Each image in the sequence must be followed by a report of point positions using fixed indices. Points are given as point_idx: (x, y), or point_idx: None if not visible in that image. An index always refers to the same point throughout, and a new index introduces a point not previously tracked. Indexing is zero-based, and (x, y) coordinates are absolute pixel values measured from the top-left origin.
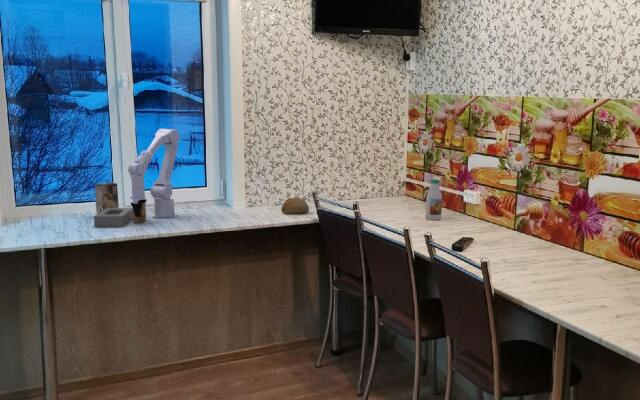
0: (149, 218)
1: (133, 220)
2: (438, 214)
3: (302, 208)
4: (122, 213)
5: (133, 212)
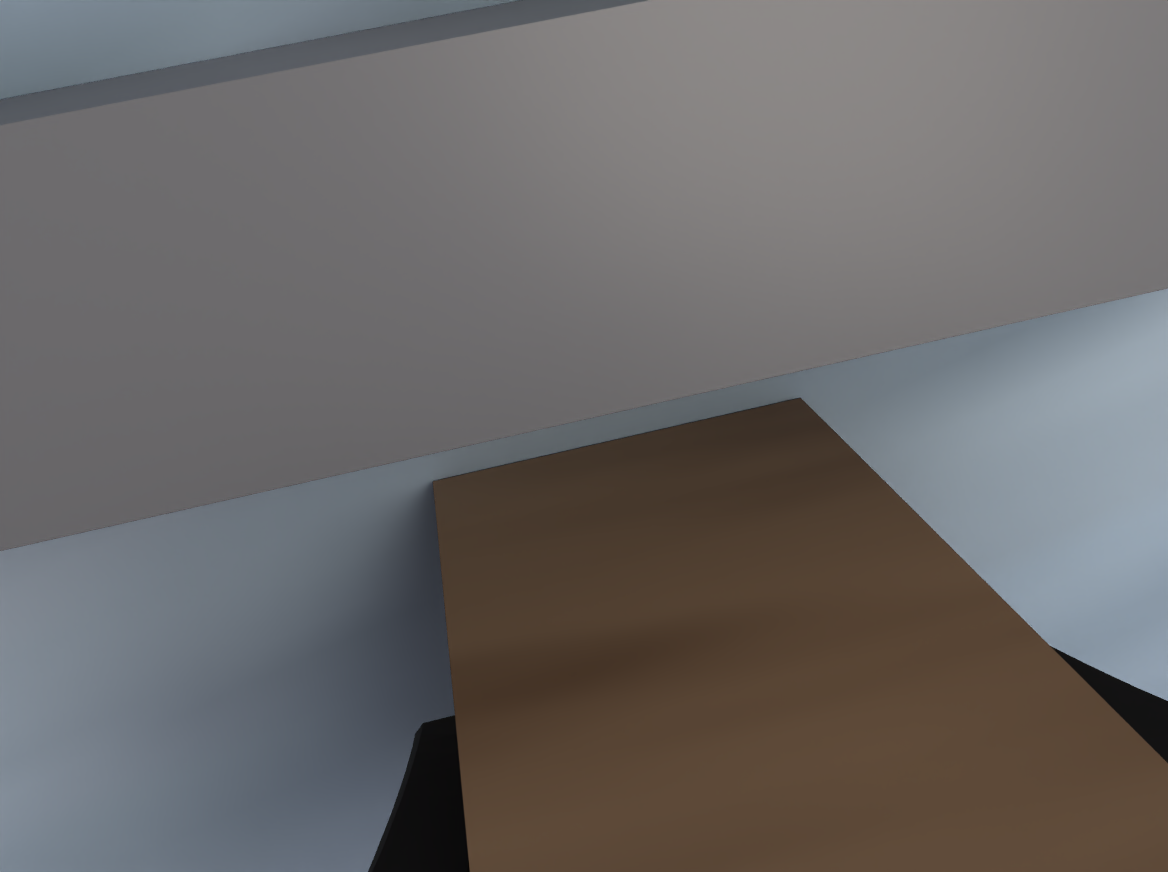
0: (1109, 658)
1: (441, 529)
2: None
3: None
4: (25, 315)
5: (466, 746)
